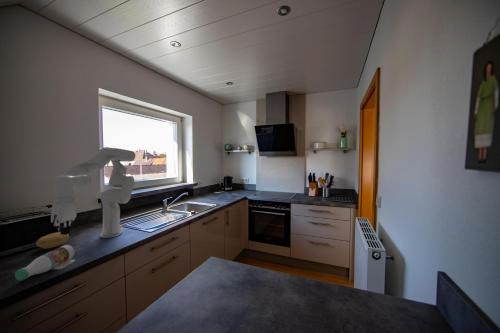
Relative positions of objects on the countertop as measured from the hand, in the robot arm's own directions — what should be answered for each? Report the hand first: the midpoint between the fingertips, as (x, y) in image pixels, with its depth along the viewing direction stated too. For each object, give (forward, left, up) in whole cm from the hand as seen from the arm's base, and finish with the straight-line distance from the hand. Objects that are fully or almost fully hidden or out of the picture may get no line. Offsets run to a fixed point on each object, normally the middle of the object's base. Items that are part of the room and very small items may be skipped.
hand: (65, 233), depth 102 cm
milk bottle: (+1, +3, -9) cm, 9 cm away
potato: (-12, -18, -13) cm, 25 cm away
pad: (+6, 0, -13) cm, 14 cm away
